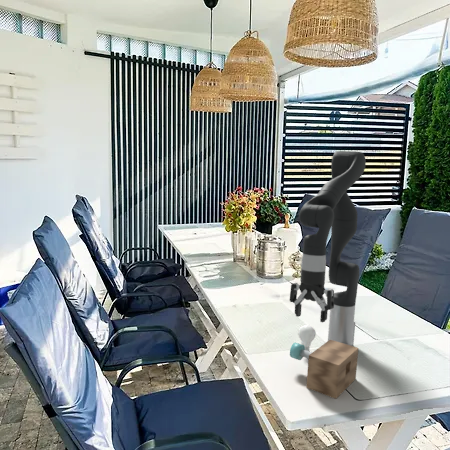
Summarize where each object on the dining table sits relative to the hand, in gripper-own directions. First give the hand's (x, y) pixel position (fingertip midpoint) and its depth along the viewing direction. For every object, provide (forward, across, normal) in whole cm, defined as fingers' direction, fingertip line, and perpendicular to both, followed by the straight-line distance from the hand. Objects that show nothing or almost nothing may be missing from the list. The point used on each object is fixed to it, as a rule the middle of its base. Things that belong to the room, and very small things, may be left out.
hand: (310, 318), depth 141 cm
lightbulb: (+20, +11, -21) cm, 31 cm away
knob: (+17, +1, -7) cm, 18 cm away
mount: (+22, -5, -7) cm, 23 cm away
